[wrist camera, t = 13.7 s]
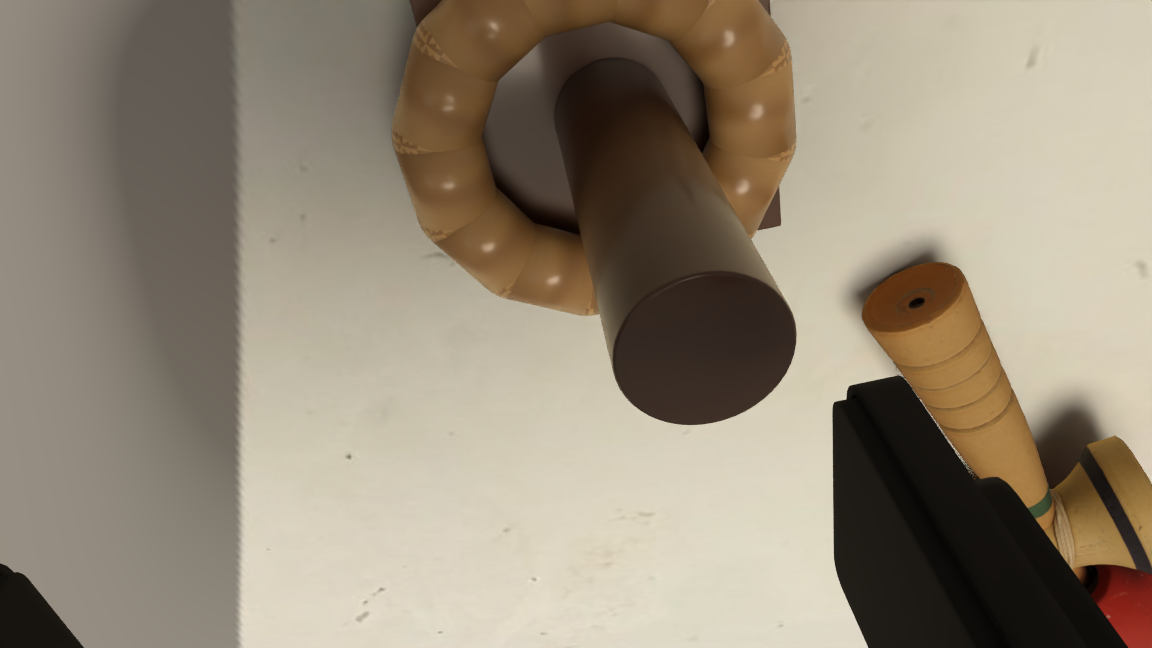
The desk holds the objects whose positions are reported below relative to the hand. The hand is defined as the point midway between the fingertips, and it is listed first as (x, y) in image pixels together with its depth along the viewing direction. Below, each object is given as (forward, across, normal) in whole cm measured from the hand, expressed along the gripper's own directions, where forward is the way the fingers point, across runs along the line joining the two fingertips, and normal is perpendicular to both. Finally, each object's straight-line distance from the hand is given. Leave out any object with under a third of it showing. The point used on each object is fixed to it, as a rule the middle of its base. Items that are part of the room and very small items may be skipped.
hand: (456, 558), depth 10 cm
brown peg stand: (+14, -4, 0) cm, 15 cm away
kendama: (+14, -15, +16) cm, 26 cm away
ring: (+12, -3, +1) cm, 13 cm away
